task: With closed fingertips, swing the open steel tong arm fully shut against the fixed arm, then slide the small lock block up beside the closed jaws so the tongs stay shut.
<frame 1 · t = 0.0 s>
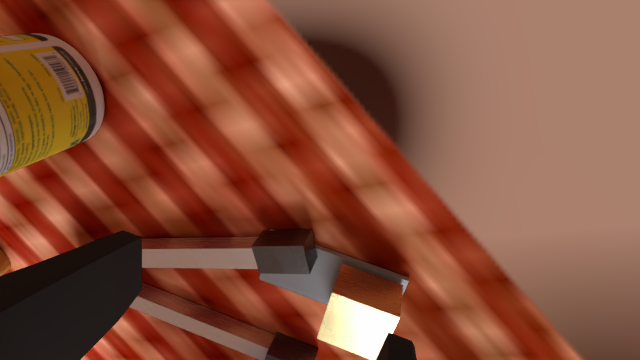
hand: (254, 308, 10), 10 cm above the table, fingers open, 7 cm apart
tong arm: (174, 265, 23), point 2 cm above the table, hinge at 24.0°
lock block: (360, 311, 20), point 2 cm above the table, slide at 0.0 cm
tongs base: (98, 259, 27), on the table
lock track: (330, 276, 22), on the table
pill bottle: (66, 89, 22), on the table
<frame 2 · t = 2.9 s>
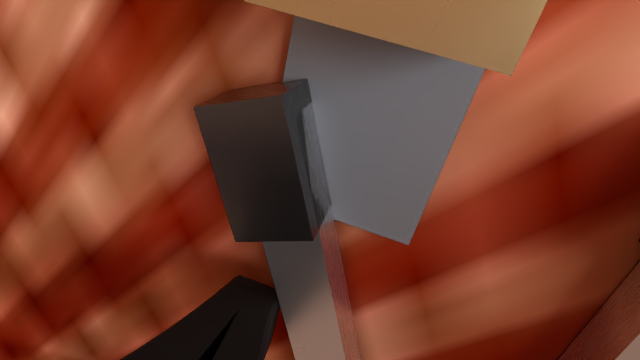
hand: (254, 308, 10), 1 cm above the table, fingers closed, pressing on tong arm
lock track: (386, 44, 8), on the table
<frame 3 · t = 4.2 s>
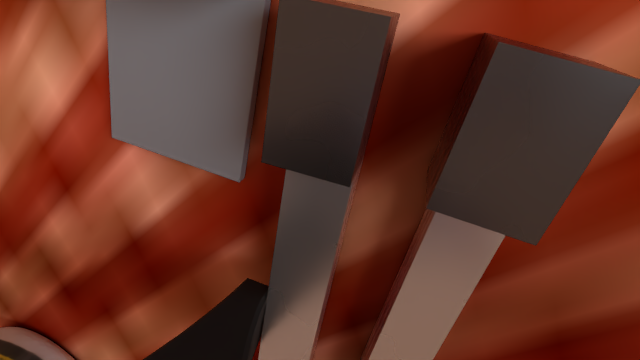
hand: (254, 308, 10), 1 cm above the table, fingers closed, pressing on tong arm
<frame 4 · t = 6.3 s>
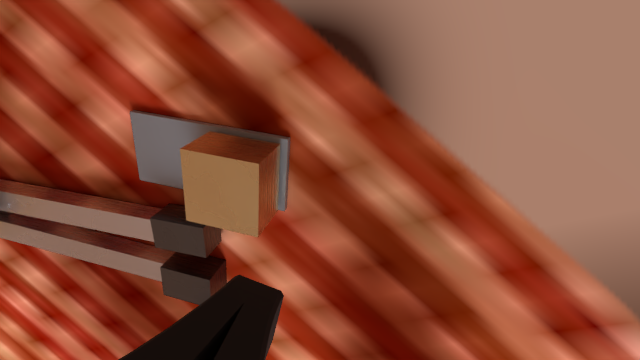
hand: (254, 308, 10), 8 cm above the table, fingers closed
tong arm: (67, 222, 21), point 2 cm above the table, hinge at 2.9°
lock block: (233, 182, 17), point 2 cm above the table, slide at 0.0 cm
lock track: (210, 159, 19), on the table
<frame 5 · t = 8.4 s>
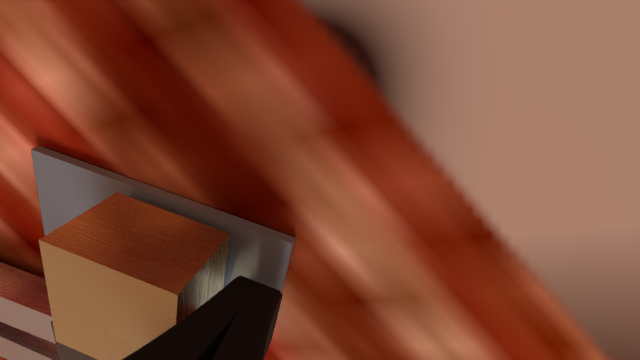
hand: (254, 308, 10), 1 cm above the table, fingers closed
lock block: (143, 287, 10), point 2 cm above the table, slide at 1.4 cm, touching gripper
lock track: (160, 240, 12), on the table
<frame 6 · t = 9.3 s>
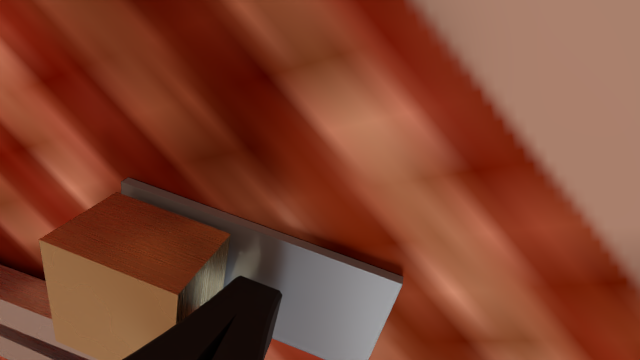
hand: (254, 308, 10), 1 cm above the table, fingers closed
lock block: (143, 287, 10), point 2 cm above the table, slide at 4.4 cm, touching gripper
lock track: (249, 274, 11), on the table
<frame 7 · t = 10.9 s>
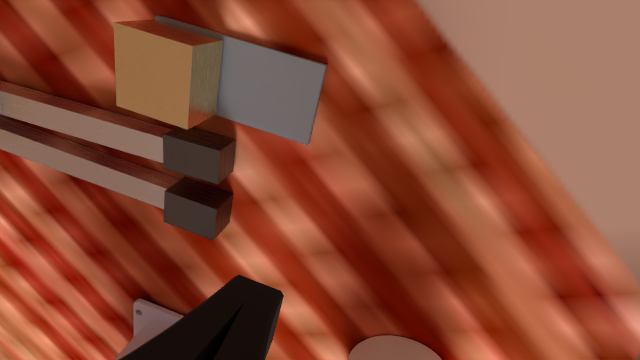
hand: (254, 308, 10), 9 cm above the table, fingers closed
tong arm: (68, 131, 20), point 2 cm above the table, hinge at 2.9°
lock block: (169, 73, 17), point 2 cm above the table, slide at 4.4 cm
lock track: (235, 80, 18), on the table
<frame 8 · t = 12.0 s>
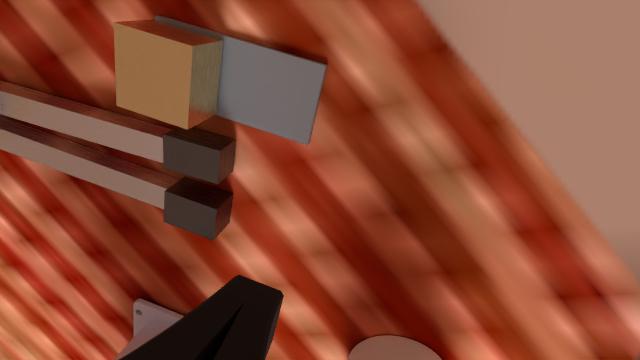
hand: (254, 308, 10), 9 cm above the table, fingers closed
tong arm: (68, 131, 20), point 2 cm above the table, hinge at 2.9°
lock block: (169, 73, 17), point 2 cm above the table, slide at 4.4 cm
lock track: (235, 80, 18), on the table
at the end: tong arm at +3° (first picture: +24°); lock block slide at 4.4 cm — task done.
